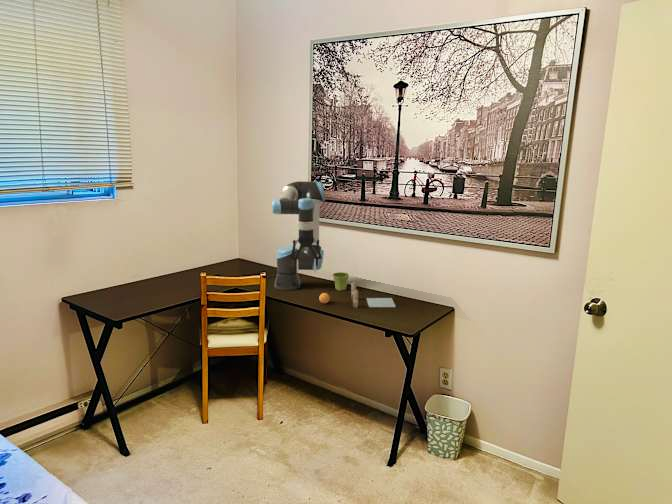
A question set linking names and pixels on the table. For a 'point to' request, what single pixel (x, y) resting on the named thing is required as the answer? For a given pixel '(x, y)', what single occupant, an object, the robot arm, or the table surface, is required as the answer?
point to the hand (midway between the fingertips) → (306, 271)
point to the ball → (324, 298)
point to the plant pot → (340, 280)
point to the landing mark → (380, 302)
